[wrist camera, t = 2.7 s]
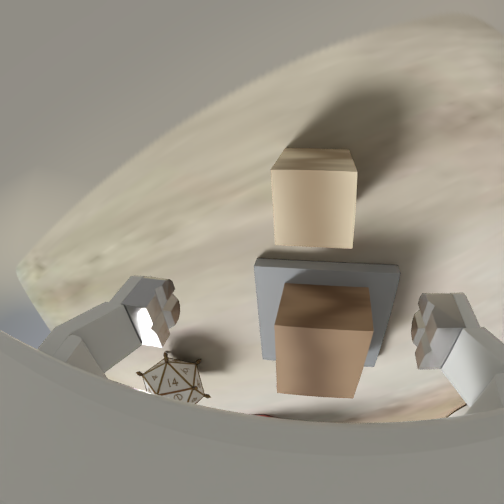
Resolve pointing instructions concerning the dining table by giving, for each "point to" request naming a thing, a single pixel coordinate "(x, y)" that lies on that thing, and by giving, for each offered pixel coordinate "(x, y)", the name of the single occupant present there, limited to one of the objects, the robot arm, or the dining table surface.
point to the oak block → (314, 198)
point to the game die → (175, 380)
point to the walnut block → (322, 339)
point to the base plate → (324, 273)
